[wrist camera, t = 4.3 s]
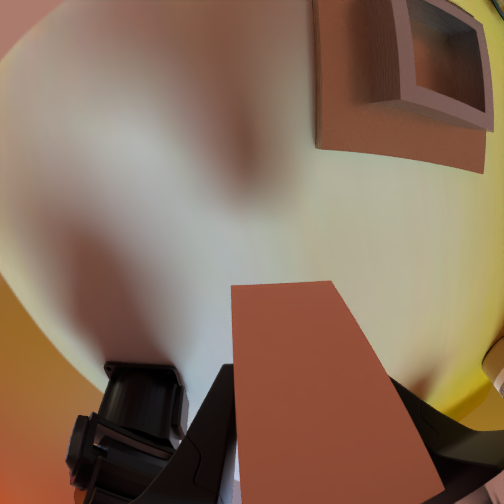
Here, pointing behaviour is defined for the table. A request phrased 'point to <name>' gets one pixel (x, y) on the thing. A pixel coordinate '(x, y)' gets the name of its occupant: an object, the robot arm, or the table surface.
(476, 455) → the robot arm
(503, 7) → the snack cup
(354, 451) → the red post
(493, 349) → the paper tube
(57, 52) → the table surface
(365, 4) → the square socket base
